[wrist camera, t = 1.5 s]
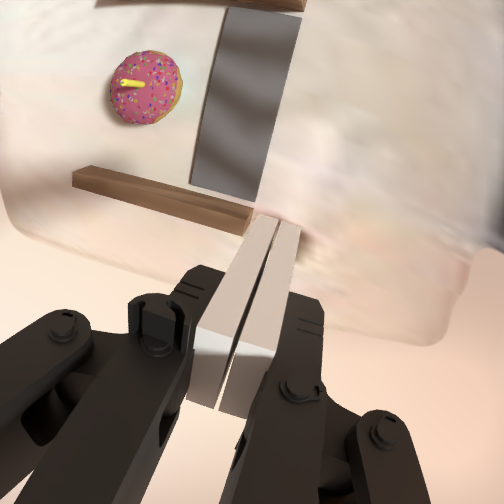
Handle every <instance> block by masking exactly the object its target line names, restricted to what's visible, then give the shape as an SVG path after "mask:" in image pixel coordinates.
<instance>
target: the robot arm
mask: <svg viewBox="0 0 504 504" xmlns="http://www.w3.org/2000/svg"><path fill="white" fill-rule="evenodd" d="M278 220H279V219H276V218H272V217H269V216H266V215H262V214H259V215H258V216H257V218H256V220H255V222H254V223H253V225H252V227H251V229H250V231H249V232H248V234H247V236H246V238H245V240H244V241H243V243H242V245H241V247H240V249H239V250H238V252H237V254H236V256H235V258H234V259H233V261H232V263H231V265H230V267H229V268H228V270H227V272H226V273H225V272H222V271H219V270H216V269H213V268H210V267H206V266H203V265H198V266H196V267H194V268H192V269H190V270H188V271H187V272H186V274H185V275H184V276H183V277H182V279H181V280H180V283H178V284H177V285H176V287H175V288H174V291H172V292H171V294H170V295H165V294H160V293H148V294H144V295H141V296H137V297H135V298H134V299H133V300H131V301H130V302H129V303H128V326H129V333H126V334H115V333H108V332H102V331H96V330H91V326H90V322H89V321H88V319H87V318H86V317H85V316H84V315H83V314H81V313H79V312H77V311H74V310H68V309H63V310H55V311H53V312H50V313H48V314H46V315H44V316H43V317H41V318H39V319H38V320H36V321H35V322H33V323H32V324H30V325H29V326H27V327H26V328H24V329H23V330H21V331H20V332H18V333H16V334H15V335H13V336H12V337H11V338H9V339H7V340H6V341H4V342H3V343H1V344H0V499H2V498H3V497H4V496H5V495H6V494H7V493H8V492H9V491H11V490H12V489H13V488H14V487H15V486H16V485H17V484H18V483H20V482H21V481H22V480H23V479H24V478H25V477H26V476H27V475H28V474H30V473H31V472H32V471H33V470H34V471H33V473H32V474H31V476H30V477H29V479H28V481H27V482H26V484H25V486H24V487H23V489H22V491H21V493H20V494H19V496H18V497H17V499H16V501H15V502H14V504H140V503H141V500H142V498H143V496H144V494H145V491H146V489H147V487H148V485H149V482H150V480H151V478H152V476H153V473H154V471H155V469H156V467H157V464H158V462H159V460H160V458H161V456H162V453H163V451H164V449H165V446H166V444H167V442H168V440H169V438H170V435H171V433H172V431H173V429H174V426H175V424H176V421H177V420H178V417H179V412H180V405H181V403H182V401H183V399H184V397H185V395H186V393H187V395H186V400H189V401H192V402H195V403H197V404H200V405H203V406H206V407H209V408H212V409H214V407H215V404H216V402H217V399H218V396H219V394H220V391H221V388H222V385H223V383H224V380H225V378H226V375H227V372H228V369H229V367H230V364H231V361H232V358H233V356H234V353H235V356H234V359H233V362H232V366H231V369H230V373H229V376H228V379H227V383H226V386H225V390H224V393H223V396H222V400H221V403H220V407H219V411H221V412H224V413H227V414H230V415H234V416H237V417H240V418H244V419H247V421H246V425H245V428H244V430H243V432H242V434H241V437H240V439H239V441H238V443H237V445H236V447H235V449H236V452H235V455H234V459H233V462H232V465H231V468H230V471H229V474H228V477H227V480H226V484H225V487H224V490H223V493H222V496H221V499H220V502H219V504H431V502H430V498H429V494H428V491H427V487H426V484H425V481H424V477H423V474H422V470H421V467H420V464H419V461H418V458H417V454H416V451H415V448H414V445H413V442H412V439H411V436H410V433H409V431H408V429H407V427H406V425H405V423H404V422H403V421H402V420H401V419H400V418H399V417H397V416H396V415H394V414H392V413H390V412H388V411H383V410H373V411H369V412H367V413H365V414H364V415H363V416H362V417H361V416H359V415H357V414H355V413H353V412H351V411H349V410H347V409H345V408H343V407H342V406H340V405H339V404H337V403H335V402H334V401H333V400H332V399H331V398H330V397H329V396H328V394H327V392H326V387H325V386H324V384H323V382H322V381H321V367H322V351H323V332H324V327H323V325H324V311H323V309H322V307H321V305H320V303H319V301H318V300H317V299H313V298H310V297H307V296H303V295H300V294H297V293H293V292H290V291H289V288H290V283H291V278H292V273H293V268H294V263H295V258H296V253H297V247H298V242H299V237H300V231H301V226H299V225H295V224H292V223H289V222H286V221H281V224H280V227H279V230H278V233H277V236H276V238H275V241H274V244H273V247H272V250H271V253H270V255H269V251H270V248H271V244H272V241H273V237H274V234H275V230H276V227H277V223H278ZM268 255H269V258H268ZM267 258H268V261H267ZM266 261H267V264H266ZM265 265H266V267H265ZM264 268H265V270H264ZM236 348H237V349H236ZM235 351H236V352H235ZM247 417H248V418H247Z"/></svg>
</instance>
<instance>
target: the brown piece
mask: <svg viewBox="0 0 504 504" xmlns="http://www.w3.org/2000/svg"><path fill="white" fill-rule="evenodd" d="M234 1H243V2H251V3H258V4H265V5H271V6H277V7H282V8H288V9H293V10H298V11H302V12H304V9H305V5H306V2H307V0H234ZM301 21H302V18H299V17H294V16H290V15H284V14H279V13H274V12H268V11H262V10H255V9H248V8H240V7H231V6H229V9H228V13H227V17H226V20H225V24H224V28H223V32H222V36H221V40H220V44H219V48H218V52H217V56H216V60H215V64H214V69H213V73H212V77H211V82H210V86H209V91H208V96H207V100H206V105H205V110H204V115H203V120H202V125H201V130H200V135H199V140H198V145H197V151H196V156H195V162H194V168H193V173H192V179H191V185H194V186H198V187H202V188H205V189H209V190H213V191H216V192H220V193H223V194H227V195H231V196H234V197H238V198H241V199H245V200H248V201H252V202H255V201H256V197H257V192H258V188H259V184H260V180H261V176H262V172H263V168H264V165H265V161H266V157H267V153H268V149H269V145H270V141H271V137H272V133H273V129H274V125H275V121H276V117H277V113H278V109H279V105H280V101H281V98H282V94H283V90H284V86H285V82H286V78H287V74H288V70H289V66H290V63H291V59H292V55H293V51H294V47H295V43H296V40H297V36H298V32H299V28H300V24H301ZM72 187H75V188H79V189H82V190H86V191H89V192H93V193H96V194H100V195H103V196H107V197H110V198H113V199H117V200H120V201H124V202H127V203H131V204H134V205H137V206H141V207H144V208H148V209H151V210H155V211H158V212H161V213H165V214H168V215H171V216H175V217H178V218H182V219H185V220H188V221H192V222H195V223H198V224H202V225H205V226H208V227H212V228H215V229H218V230H222V231H225V232H228V233H232V234H235V235H238V236H243V234H244V232H245V231H246V229H247V227H248V226H249V224H250V221H251V217H252V213H253V209H254V208H250V207H247V206H243V205H240V204H236V203H233V202H229V201H226V200H222V199H219V198H215V197H212V196H208V195H204V194H201V193H197V192H193V191H190V190H186V189H182V188H179V187H175V186H171V185H167V184H163V183H160V182H156V181H152V180H148V179H144V178H140V177H136V176H132V175H128V174H124V173H120V172H116V171H112V170H108V169H103V168H99V167H95V166H88V167H85V168H83V169H80V170H78V171H75V172H73V181H72Z"/></svg>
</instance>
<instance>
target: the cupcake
mask: <svg viewBox="0 0 504 504" xmlns="http://www.w3.org/2000/svg"><path fill="white" fill-rule="evenodd" d="M113 75H114V76H113V79H112V81H111V86H110V88H111V89H110V92H111V93H110V94H111V100H110V101H112V103H113V105H114V108H115V110H116V111H117V113H118V114H119V115H120V116H121V117H122V118H123V119H124V120H125V121H127V122H129V123H133V124H136V125H138V124H146V125H147V124H154V123H156V122H158V121H159V120H160V119H162V118H163V117H165V116H166V115H167V114H168V113H169V112H170V111H171V110H172V109H173V108H174V107H175V105H176V104H177V102H178V101H179V99H180V96H181V90H182V86H183V81H182V78H181V75H180V71H179V68H178V66H177V65H176V63H175V62H174V61H173V59H172V58H170V57H168V56H167V55H166V54H164V53H161V52H157V51H152V50H149V51H143V52H136V53H134V54H132V55H131V56H129V57H126V59H125V60H124V61H123V62H122V63H121V64H120V65H119V66H118V67H117V69H116V70H115V73H114V74H113Z"/></svg>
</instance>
